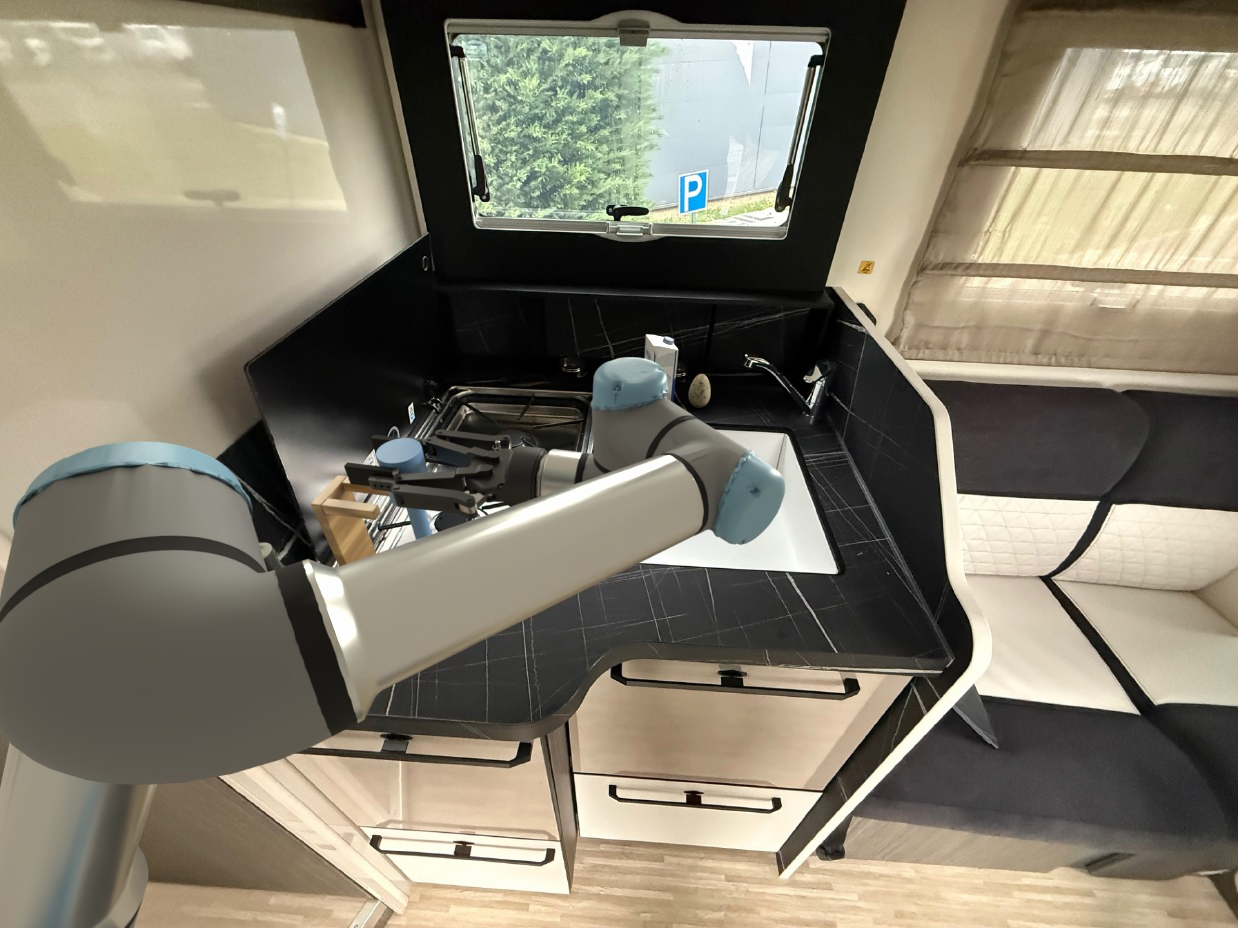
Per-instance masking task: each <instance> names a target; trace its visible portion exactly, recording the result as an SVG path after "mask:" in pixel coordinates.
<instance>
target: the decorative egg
mask: <svg viewBox="0 0 1238 928" xmlns="http://www.w3.org/2000/svg"><path fill="white" fill-rule="evenodd" d="M711 390H712V389H711V383H710V380H709V379H708V377H707V376H706V374H704V373H699V374H697V375H696V376H695V378H694V379H693V380H692V382H691V384H690V386H689V390H688V400H689V401H688V402H689V403H690V405H692V407H694V408H698V409H700V408H704V407H705V406H706V405H707V404H708V403H709V401H710V399H711V394H712V393H711Z"/></svg>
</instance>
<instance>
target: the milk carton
mask: <svg viewBox="0 0 1238 928" xmlns="http://www.w3.org/2000/svg"><path fill="white" fill-rule="evenodd" d="M674 342H675V339H674V338H672V337H670V336H665V335H664V336H659V335H655V334H645V345H644V359H647V360H650V361H653V362H655V363H657V364H658V365H660V366H661V367H662V368H663V371H664V372H665V374H666V376H667V385H668V393H667V399H668V400H669V401H671V402H673V403H674V397H675V388H676V387H675V386H676V375H677V366H678V357H679V349H678V347H677V346H676V345H675V343H674Z"/></svg>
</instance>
